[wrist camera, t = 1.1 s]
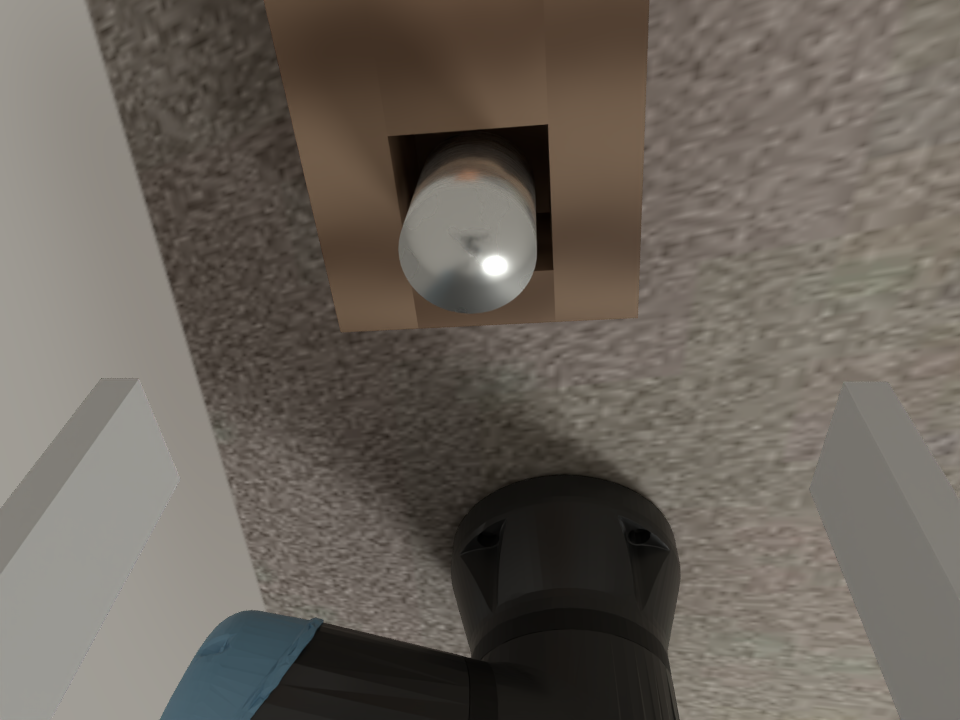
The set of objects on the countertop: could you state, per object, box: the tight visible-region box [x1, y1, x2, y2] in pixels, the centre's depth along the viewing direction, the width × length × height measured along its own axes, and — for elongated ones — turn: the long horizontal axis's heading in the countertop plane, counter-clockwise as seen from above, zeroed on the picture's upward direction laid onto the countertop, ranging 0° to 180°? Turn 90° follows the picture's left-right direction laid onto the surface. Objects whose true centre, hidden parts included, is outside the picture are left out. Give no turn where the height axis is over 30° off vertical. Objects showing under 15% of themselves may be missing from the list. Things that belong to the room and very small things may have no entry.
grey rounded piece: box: [398, 131, 537, 314], centre depth 28 cm, size 5×5×6 cm
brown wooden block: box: [264, 0, 649, 332], centre depth 28 cm, size 23×13×7 cm, turn 5°
